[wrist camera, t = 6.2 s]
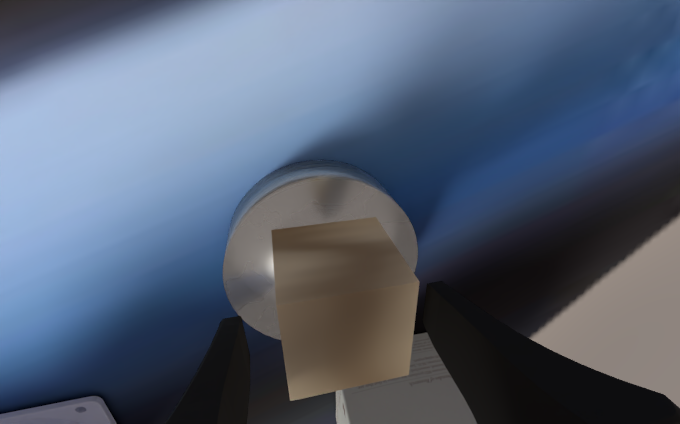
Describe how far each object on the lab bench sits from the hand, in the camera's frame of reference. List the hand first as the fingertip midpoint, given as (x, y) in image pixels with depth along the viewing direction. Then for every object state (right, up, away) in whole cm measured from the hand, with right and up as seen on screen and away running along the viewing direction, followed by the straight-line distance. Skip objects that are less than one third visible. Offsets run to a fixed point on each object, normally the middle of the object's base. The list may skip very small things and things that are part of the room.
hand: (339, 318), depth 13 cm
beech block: (-1, +2, +2) cm, 3 cm away
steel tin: (-1, +3, +5) cm, 6 cm away
